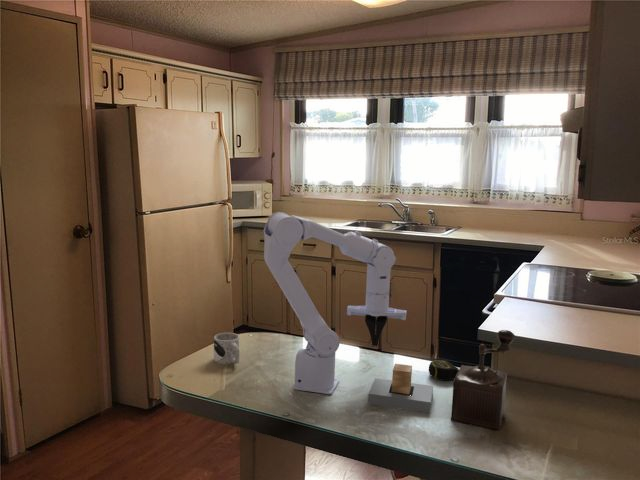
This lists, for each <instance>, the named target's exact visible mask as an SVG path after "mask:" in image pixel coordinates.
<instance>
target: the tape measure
mask: <svg viewBox="0 0 640 480" xmlns="http://www.w3.org/2000/svg"><path fill="white" fill-rule="evenodd" d="M459 369H460V368H458V367H456V366H455V365H454V364H453V363H450V361H448V360H447V359H443V360H439V359H435V360H433V361H431V362H430V363H429V364H428V374H429V375H430V376H431V378H432V377H433V378H434V379H436V380H440V381H450V380H454V379H455V377H456V375H457V373H458V371H459Z"/></svg>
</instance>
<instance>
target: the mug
mask: <svg viewBox="0 0 640 480" xmlns="http://www.w3.org/2000/svg"><path fill="white" fill-rule="evenodd" d="M213 361H214V363H215V364H216V365H220V366H228V365H234V364H235V365H237V364H239V363H240V336H239V334H237V333H233V332H220V333H218V334H214V336H213Z"/></svg>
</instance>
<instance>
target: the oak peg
mask: <svg viewBox="0 0 640 480" xmlns="http://www.w3.org/2000/svg"><path fill="white" fill-rule="evenodd" d="M412 371H413V365H408V364H402V363H401V364H400V363H394V365H393V368H392V392H391V393H393V394H400V395H407V396H410V393H411V383H412V374H413V373H412Z"/></svg>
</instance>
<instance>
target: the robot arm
mask: <svg viewBox="0 0 640 480" xmlns="http://www.w3.org/2000/svg"><path fill="white" fill-rule="evenodd" d="M263 234H264V235H263V236H264V244H263V245H264V247H263V248H264V249H263V250H264V251H263V258H264V259H263V260H264V262H265V264H266V266H267V267H268V268H269V272H270V273H271V275H272V276H273V278H274V279H275V281H276V282H277V283H276V284H278V286H279V287H280V290H281V291H282V292H283V295H284V296H285V297H286V299H287V302H288V303H289V305H290V306H291V308H292V309H293V311H294V313H295V315H296V317H297V318H298V320H299V321H300V322H299V323H300V325H301V327H302V331H303V333H302V334H303V337H304V339H305V341H306V342H307V345H306V347H305V348H300V349H299V348H298V350H297V353H296V355H295V361H294V362H295V363H294V386H293V389H294V390H297V391H304V392H305V391H306V392H310V393H312V392H313V393H316V394H317V393H319V394H324V395H332V394H333V393H334V391H335V389H336V387H337V385H338V384H339V382H340V380H339V379H336V377H335V374H336V371H335V369H336V352H337V350H338V349H339V347H340V342H341V341H340V337H339V335H338V334H337V332H335V331H334V330H332V329H331V328H330V327H329V326H328V325H327V322H326V321H325V320H324V319H323V318H322V315H320V313H319V311H318V309H317V308H316V305H315V304H314V303H313V301H312V299H311V297H310V296H309V294H308V292H307V291H306V288H305V287H304V286H303V283H302V282H301V280H300V278H299V276H298V275H297V273H296V272H295V271H296V270H294V268H293V266H292V264H291V263H290V261H289V258H290V255H291V252H292V251H293V249H295V246H297V245H298V243H299V241H300V240H303V241H306V240H308V239H311V238H314V239H317V240H319V241H322V242H325V243H328V244H331V245H333V246H336V247H338V248H339V250H340V253H341V254H342V255H345V256H347V257H349V258H351V259H355V260H358V261H361V262H362V263H366V265H367V266H366V282H365V283H366V286H365V287H366V288H365V305H348V306H347V309H346V315H347V316H352V315H355V316H362V317H364V316H365V319H364V321H365V325H366V327H367V329H368V332H369V334H370V339H371V340H370V341H371V346H372V347H373V346H374V347H378V346H379V341H380V340H379V339H380V336H381V334H382V332H383V329H384V328H385V326H386V324H387V320H388V319H397V320H402V321H406V320H407V310H405V309H398V308H393V307H389V306H390V305H389V304H390V290H391V289H390V287H391V269H392V267H393V266H394V265H395V263H396V260H397V257H396V256H395V253H394V250H392V248H391V247H390V246H388V245H385V244H383V243H380V242H379V240H378V239H376V238H372V239H370V238H369V237H366V236H363V235H362V232H360V231H357V230H355V231H354V232H353V231H348V232H346V233H341V232H339V231H336V230H334V229H331V228H330V227H327V226H324V225H323V224H320V223H318V222H315V221H313V220H311V219H308V218H305V217H301V216H298V215H293V214H291V215H289V214H287V213H286V212H282V211H278V212H274V213H272V214H271V215H270V216H269V217H268V219H267V221H266V223H265V226H264V228H263Z"/></svg>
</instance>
